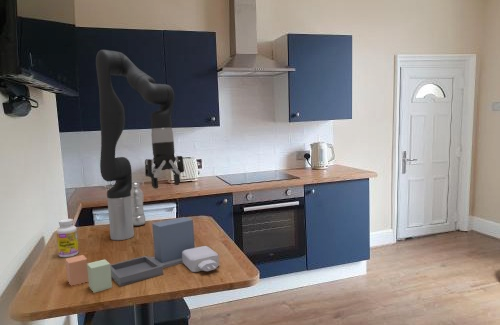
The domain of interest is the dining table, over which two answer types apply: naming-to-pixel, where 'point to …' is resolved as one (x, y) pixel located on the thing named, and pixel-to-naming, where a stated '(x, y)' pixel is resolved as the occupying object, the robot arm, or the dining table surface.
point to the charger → (200, 259)
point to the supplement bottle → (67, 238)
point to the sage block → (99, 275)
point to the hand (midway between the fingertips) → (166, 186)
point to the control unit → (172, 240)
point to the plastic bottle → (137, 204)
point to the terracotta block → (77, 270)
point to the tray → (135, 270)
